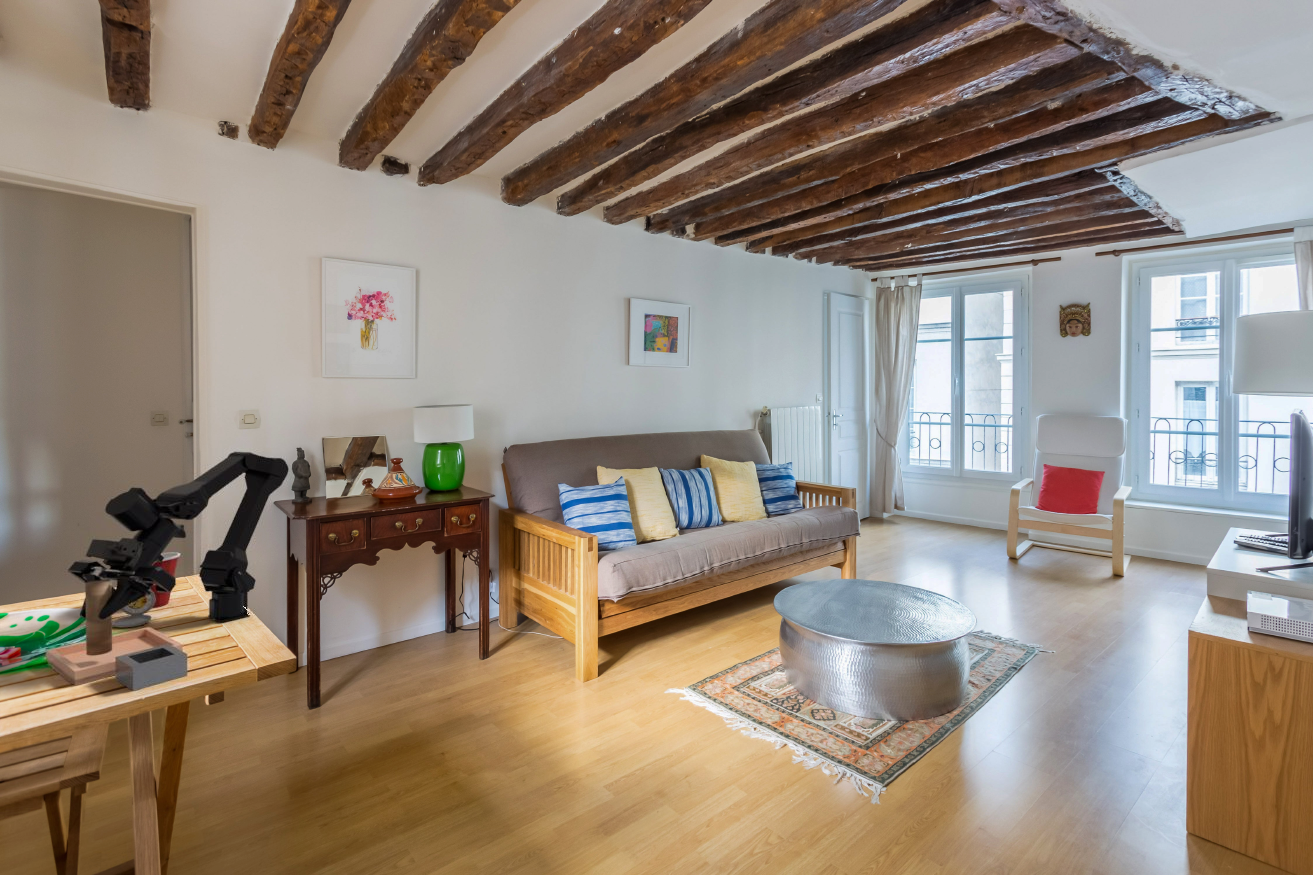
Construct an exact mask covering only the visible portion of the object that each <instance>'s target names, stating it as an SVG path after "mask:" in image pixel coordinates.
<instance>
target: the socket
mask: <svg viewBox="0 0 1313 875" xmlns="http://www.w3.org/2000/svg"><path fill="white" fill-rule="evenodd" d="M115 668H116V675H115V680H116V681H118V682H119V683H121V684H122V685H123V686H125V687H126V688H128V689H129V690H130V691H132V692H134V691H139V690H142V689H145V688H148V687H152V686H155V685H160V684H162V683H166V682H169V681H174V680H176V679H179V678H183V677H187V676H188V653H186V652H185V651H184V650H183V651H181V650H179V649H177V648H175V647H174V646H172V645H170V644H166V645H162V646H158V647H154V648H150V649H146V650H142V651H138V652H134V653H130V654H125V655H121V656H117V657H115Z"/></svg>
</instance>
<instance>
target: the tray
mask: <svg viewBox="0 0 1313 875" xmlns="http://www.w3.org/2000/svg"><path fill="white" fill-rule="evenodd" d="M166 644H170V645H172V646H174V647H175V648H177V649H179V650H181V651H183V652H184V650H183V647H184V646H183V645H184V644H183V643H181V642H180V641H178V640H176V639H173V638H171V637H170V636H167V635H166V634H164V633H162V632H160V631H158V630H156V629H154V628H153V627H151V626H147V627H143V628H138V629H134V630H130V631H125V632H121V633H116V634H112V651H110V652H108V653H105V654H101V655H94V656H90V655H87V654H86V640H84V641H81V642H75V643H72V644H68V645H62V646H59V647H54V648H50V649H46V650H45V661H46V660H47V662H48V663H49V664H50V666H51V667H52V669H53V670H54V669H55V670H56V671H55V670H54V671H55V672H57V674H59V675H60V676H62V677H64V678H65V679H66V680H67V681H68V682H70V683H71V684H72V685H73V686H75V687H77V686H79V685H83V684H86V683H87V684H88V683H91V682H95V681H98V680H103V679H106V678H109V677H114V676H116V668H115V657H117V656H121V655H125V654H130V653H134V652H138V651H142V650H146V649H150V648H154V647H158V646H162V645H166ZM50 666H49V667H50ZM51 667H50V668H51Z"/></svg>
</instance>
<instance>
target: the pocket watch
mask: <svg viewBox="0 0 1313 875" xmlns="http://www.w3.org/2000/svg"><path fill="white" fill-rule="evenodd" d="M149 591H150V592H151V594H150V595H146V597H145V598H147V599H145V598H144V597H142V598H140V599H138V600H136V601H134V602H133V603H131V604H129V605H127V606H126V607H124V608H122V609H120V610H121V611H122V612H123V613H124V614H126V615H127V616H123V617H120V618H117V619H115V620H114V621H113V620H112V627H115V628H132V627H139V626H142V625H145V624H147V623H149V622H150V621H151V620H152V616H151V615H149V614H146V613H148V612H149V611H151V610H152V609H153V608H152V607H153V606H154V604H155V600H156V597H155V594H154V592H153V591H152V590H151V589H150V590H149ZM141 599H142V600H141ZM146 600H147V603H143V601H144V602H145V601H146ZM139 607H140V608H139Z"/></svg>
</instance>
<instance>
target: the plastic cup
mask: <svg viewBox="0 0 1313 875" xmlns="http://www.w3.org/2000/svg"><path fill="white" fill-rule="evenodd" d="M161 555H162V556H163V557H164V559H163V560H162V562H155V563H154V564H153V565H152V566H161V567H162V568H163V569H165V570H166V571H167V572H168V573H170V574H171V575H172V576H173V577H175V574H176V567H177V565H178V560H179V558H180V556H181V553H179V552H173V551H172V552H162V554H161ZM156 585H157V584H155V585H153V586H152V587H151V590H152V591H153V592H154V594H155V597H156V600H155V604H154V606H153V607H152V609H154V608H155V609H156V608H160V607H164V606H166V605H168V604H169V601H170V598H171V592H172V591H171V592H170V593H160V592H157V591H156V588H155V587H156ZM145 597H146V596H144V598H145ZM145 599H147V598H145ZM141 600H142V599H141ZM143 603H147V600H146V601H145V602H144V601H143ZM138 608H140V607H138Z"/></svg>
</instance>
